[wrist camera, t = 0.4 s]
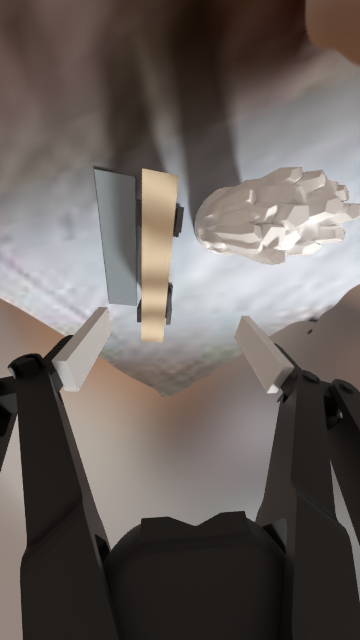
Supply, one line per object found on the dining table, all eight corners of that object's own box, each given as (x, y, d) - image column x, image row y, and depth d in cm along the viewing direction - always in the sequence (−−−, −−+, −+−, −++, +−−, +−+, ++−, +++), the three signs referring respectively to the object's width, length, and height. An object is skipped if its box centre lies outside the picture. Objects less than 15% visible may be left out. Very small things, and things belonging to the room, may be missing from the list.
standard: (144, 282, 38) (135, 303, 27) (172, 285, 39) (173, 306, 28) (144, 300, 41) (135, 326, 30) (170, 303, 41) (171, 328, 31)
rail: (147, 180, 21) (142, 168, 17) (176, 186, 21) (178, 175, 17) (145, 326, 33) (141, 341, 29) (163, 327, 33) (162, 342, 29)
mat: (95, 169, 27) (94, 169, 27) (135, 177, 28) (134, 176, 28) (109, 302, 40) (109, 303, 40) (137, 305, 41) (136, 305, 41)
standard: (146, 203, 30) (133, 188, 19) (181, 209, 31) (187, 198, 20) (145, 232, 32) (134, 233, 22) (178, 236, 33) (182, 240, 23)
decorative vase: (187, 242, 34) (217, 264, 13) (206, 182, 29) (310, 48, 8) (230, 257, 36) (317, 299, 15) (254, 204, 31) (440, 152, 10)
